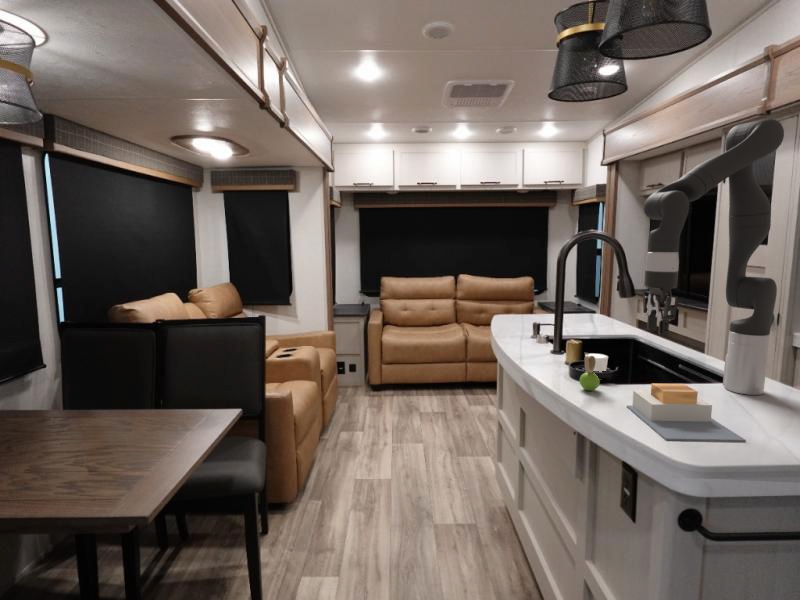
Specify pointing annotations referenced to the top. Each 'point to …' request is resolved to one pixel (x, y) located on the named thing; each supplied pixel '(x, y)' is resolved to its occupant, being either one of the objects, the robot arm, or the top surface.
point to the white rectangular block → (671, 409)
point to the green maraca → (589, 374)
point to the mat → (690, 429)
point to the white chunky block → (599, 361)
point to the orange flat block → (674, 393)
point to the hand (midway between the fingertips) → (657, 332)
